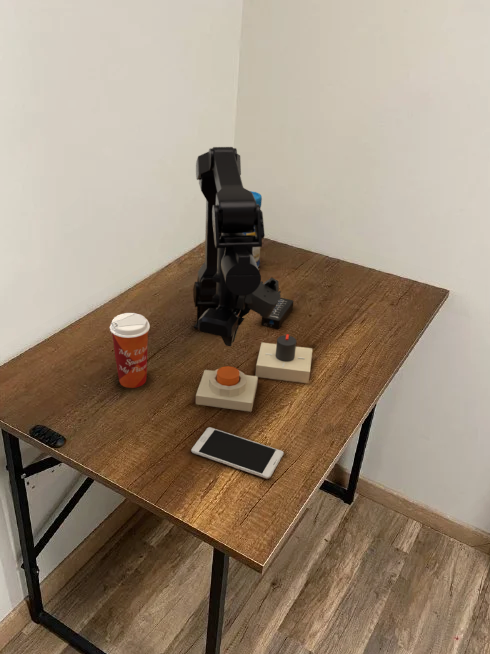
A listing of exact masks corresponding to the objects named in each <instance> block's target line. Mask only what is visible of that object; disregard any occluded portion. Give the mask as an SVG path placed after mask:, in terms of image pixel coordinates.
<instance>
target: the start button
mask: <svg viewBox="0 0 490 654" xmlns="http://www.w3.org/2000/svg"><path fill="white" fill-rule="evenodd" d="M217 369H218V370H217ZM217 369H216V370H217V382H218V383H219V384H221V385H224V386H233V385H236V384H237V383H238V382H239V371H240V370H239V369H238V368H236V367H234V366H229V365H226V366H221V367H219V368H217Z"/></svg>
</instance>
